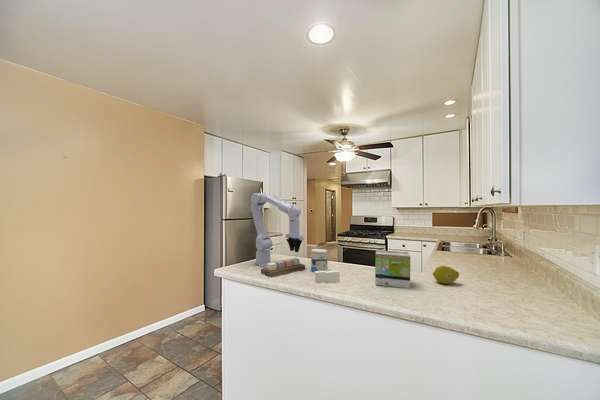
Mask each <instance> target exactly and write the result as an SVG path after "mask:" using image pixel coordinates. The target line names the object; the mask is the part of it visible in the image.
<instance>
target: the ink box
mask: <svg viewBox="0 0 600 400" xmlns="http://www.w3.org/2000/svg"><path fill="white" fill-rule="evenodd" d="M315 271H328V249H325V248H324V249H321V248H312V249H311V251H310V272H311V273H315Z"/></svg>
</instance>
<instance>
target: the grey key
mask: <svg viewBox="0 0 600 400" xmlns="http://www.w3.org/2000/svg"><path fill="white" fill-rule="evenodd" d="M274 263H276V264H277V268H278V269H281V268H285V262H283V261H282V260H277V261H274Z"/></svg>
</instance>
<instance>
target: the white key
mask: <svg viewBox="0 0 600 400" xmlns="http://www.w3.org/2000/svg"><path fill="white" fill-rule="evenodd" d="M265 267H266V268H267V269H268V270H270V271H272V270H276V269H277V264H276V263H275V262H273V261H272V262H270V263H267V264H266V266H265Z"/></svg>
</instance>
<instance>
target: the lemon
mask: <svg viewBox="0 0 600 400" xmlns="http://www.w3.org/2000/svg"><path fill="white" fill-rule="evenodd" d="M432 275H433V277H434V279H435V281H436V282H438V283H440V284H444V285H449V284H452V283H454V282H455V281H457V279H458V278H459V277H460V272H459V271H457V270H455V269H454V268H452V267H450V266H447V265H445V266H444V265H440V266H438V267H436V268H435V269H434V271H433V272H432Z"/></svg>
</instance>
